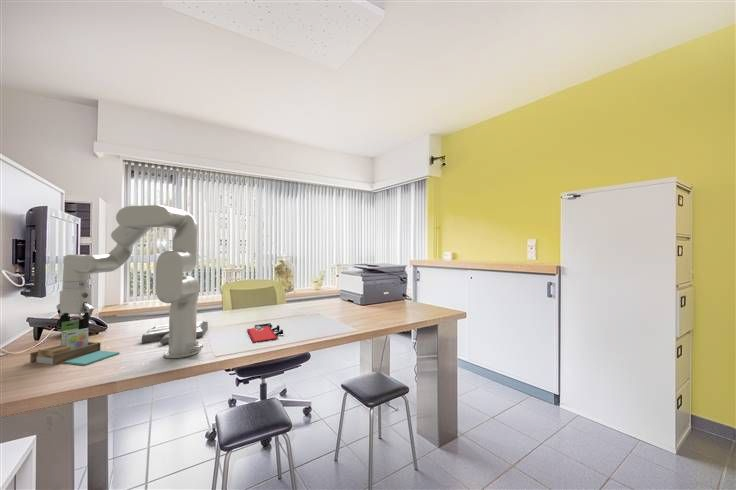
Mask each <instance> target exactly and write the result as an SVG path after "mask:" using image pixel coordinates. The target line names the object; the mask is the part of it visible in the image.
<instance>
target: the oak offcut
mask: <svg viewBox="0 0 736 490" xmlns="http://www.w3.org/2000/svg"><path fill="white" fill-rule="evenodd" d="M37 351H38V357H47V358H53V355H56V354H60V353H63V352H67V351H70V347H67V346H59V345H52V346H51V345H50V346H47V347H43V348H40V349H37Z"/></svg>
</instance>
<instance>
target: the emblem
mask: <svg viewBox="0 0 736 490" xmlns="http://www.w3.org/2000/svg"><path fill="white" fill-rule="evenodd" d="M208 329H209V323H208V321H203V320H202V321H196V339H197V338H198V339H199V338H202V337H203V336H204V335H206V332H207V331H208ZM153 342H154V343H155V342H159V343H160V344H161V345H169V323H168V324H163V325H162V324H161V325H156V326H153V327H152V328H150V329H148V330H147V331H146V332H145V333H143V334H142V335H141V345H143V344H144V345H145V344H149V343H153Z"/></svg>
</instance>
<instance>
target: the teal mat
mask: <svg viewBox="0 0 736 490" xmlns="http://www.w3.org/2000/svg"><path fill="white" fill-rule="evenodd" d="M119 354H120V352H118V351H110V350H109V351H108V350H100V351H97V352H93V353H90V354H87V355H84V356H81V357H77V358H74V359H71V360H68V361H65V362H64V363H63V364H69V365H77V366H84V367H85V366H88V365H92V364H94V363H97V362H100V361H103V360H106V359H109V358H111V357H112V358H113V357H115V356H117V355H119Z"/></svg>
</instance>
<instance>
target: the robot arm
mask: <svg viewBox="0 0 736 490" xmlns="http://www.w3.org/2000/svg"><path fill="white" fill-rule="evenodd" d="M115 221H116V223H117V224H118V226H117V227H116V228H115V229H114V230H112V232H111V234H110V236H111V239H112V240H113V242H115V243H116V245H115V246H114V248H112V249H111V250H110V251H109V252H108V253H106V254H100V253H99V254H66V255H65V256H64V257H63V268H62V269H63V270H62V286H61V289H62V290H61V295H60V299H59V300H60V301H59V303H58V304H57V305H55V307H56V310H57V313H58V318H59V320H58V321H59V322H58V324H59V325H58V327H59V328H62V322H68V321H71V315H77V316H79V318H80V319H78V320H79V327H78V329H84V328H88V329H89V327H90V326H89V325H90V318H91V315H92V314H93V312H94V307H93V306H92V293H91V289H90V288H89V285H90V275H91V274H100V273H110V272H115V271H116V270H117V269H119V268H121V266H123V265H124V264H125V263H126V262H127V261H128V260H129V259H130V258H131V256H132V254H133V249H134V245H135V244H137V243H138V242H139V241H140V240H141V239H142V238H143V237H144V236H145V235H146V234H147V233H148V232H149V231H150V230H151V229H152V228H165V229H173V230H174V231H175V232H174V234H173V238H172V249H168V250H165V251H164V252H162V253H161V254H159V256H158V257H157V260H156V265H155V287H154V288H155V295H156V297H157V299H158V300H159V301H161V302H162V303H164V304H169V306H170V307H169V311H168V312H169V315H168V316H169V317H168V324H169V343H168V349H167V350H165V351H164V352H163V356H164V358H166V359H181V358H186V357H191V356H193V355H196V354H198V353H200V352H201V351H202V349H203V347H204V345H203V344H199V340H197V338H196V322H197V320H198V319H197V314H198V313H197V311H198V299H199V293H200V284H199V281H198V280H197V279H196V278H195V277H193V276H190V275H184V273H185V274H186V273H190V272H192V271H193V270H194V269H195V268H196V267H197V263H198V262H197V256H198V253H197V252H198V222H197V221H196V218H195V217H194V216H193V215H192V214H191V213H189V212H187V211H185V210H183V209H179V208H175V207H170V206H167V205H166V206H165V205H160V204H151V205H128V206H124V207H122V208H120V209H119V210H118V212H117V213H116V214H115ZM70 314H71V315H70ZM66 326H71V325H70V324H68V325H66Z"/></svg>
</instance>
